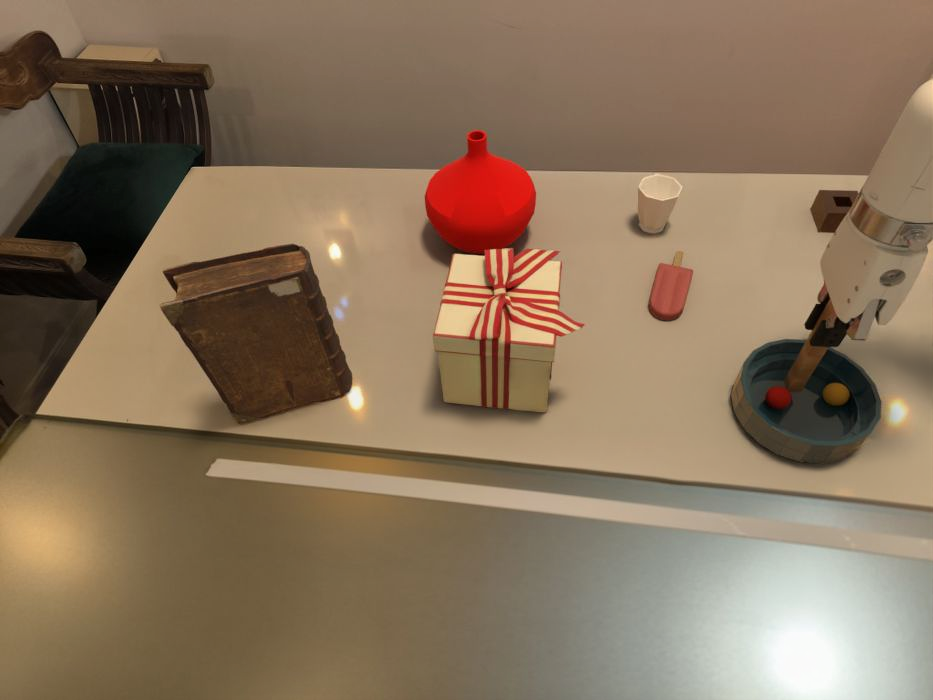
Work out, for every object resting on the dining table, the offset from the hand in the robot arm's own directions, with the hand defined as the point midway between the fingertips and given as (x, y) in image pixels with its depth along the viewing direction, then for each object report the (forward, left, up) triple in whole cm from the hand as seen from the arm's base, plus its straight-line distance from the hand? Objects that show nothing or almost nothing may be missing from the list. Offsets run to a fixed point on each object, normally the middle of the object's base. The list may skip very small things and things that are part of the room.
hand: (820, 335), depth 72 cm
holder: (-15, -37, -12) cm, 41 cm away
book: (+67, +5, -13) cm, 69 cm away
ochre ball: (-6, +1, -10) cm, 12 cm away
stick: (0, 0, -11) cm, 11 cm away
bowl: (-1, +2, -12) cm, 13 cm away
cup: (+15, -36, -13) cm, 41 cm away
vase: (+44, -31, -13) cm, 55 cm away
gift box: (+37, -3, -13) cm, 39 cm away
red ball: (+2, +2, -10) cm, 11 cm away
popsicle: (+13, -20, -13) cm, 27 cm away
